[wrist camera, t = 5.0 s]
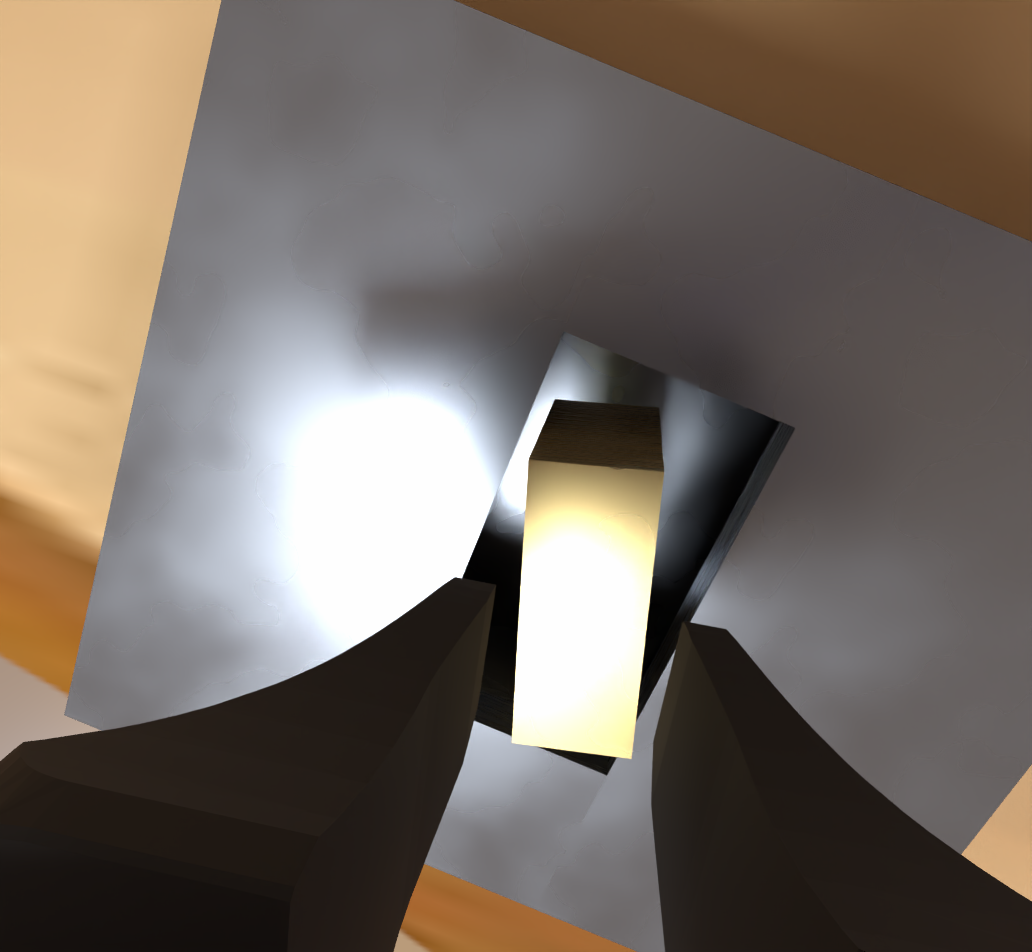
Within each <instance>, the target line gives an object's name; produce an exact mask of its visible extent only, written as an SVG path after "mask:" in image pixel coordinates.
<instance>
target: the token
mask: <svg viewBox="0 0 1032 952" xmlns="http://www.w3.org/2000/svg"><path fill="white" fill-rule="evenodd" d="M663 479H664V463H663V451H662V439H661V427H660V414H659V408H657V407H645V406H633V405H621V404H609V403H597V402H585V401H573V400H561V399H555V400H554V402H553V404H552V407H551V409H550V411H549V414H548V416H547V418H546V420H545V423H544V425H543V427H542V429H541V432H540V434H539V436H538V439H537V441H536V443H535V445H534V448H533V450H532V452H531V454H530V457H529V459H528V472H527V489H526V507H525V524H524V541H523V558H522V575H521V592H520V609H519V627H518V644H517V661H516V678H515V695H514V712H513V729H512V743H516V744H524V745H531V746H538V747H546V748H553V749H561V750H568V751H576V752H583V753H591V754H598V755H606V756H613V757H621V758H628V759H631V758H632V749H633V741H634V732H635V723H636V714H637V706H638V697H639V688H640V680H641V671H642V662H643V653H644V645H645V636H646V627H647V619H648V610H649V601H650V592H651V584H652V575H653V566H654V557H655V549H656V540H657V531H658V523H659V514H660V505H661V496H662V488H663Z"/></svg>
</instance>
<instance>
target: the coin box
mask: <svg viewBox="0 0 1032 952" xmlns="http://www.w3.org/2000/svg"><path fill="white" fill-rule="evenodd" d="M555 399H561V400H573V401H585V402H597V403H609V404H621V405H633V406H645V407H657V408H659V414H660V427H661V439H662V451H663V463H664V479H663V488H662V496H661V505H660V514H659V523H658V531H657V540H656V549H655V557H654V566H653V575H652V584H651V592H650V601H649V610H648V619H647V627H646V636H645V645H644V653H643V662H642V671H641V680H640V688H639V697H638V706H637V714H636V723H635V732H634V741H633V749H632V758H631V759H628V758H621V757H613V756H606V755H598V754H591V753H583V752H576V751H568V750H561V749H553V748H546V747H538V746H531V745H524V744H516V743H512V729H513V712H514V695H515V678H516V661H517V644H518V627H519V609H520V592H521V575H522V558H523V541H524V524H525V507H526V489H527V472H528V459H529V457H530V454H531V452H532V450H533V448H534V445H535V443H536V441H537V439H538V436H539V434H540V432H541V429H542V427H543V425H544V423H545V420H546V418H547V416H548V414H549V411H550V409H551V407H552V404H553V402H554V400H555ZM454 577H458V578H463V579H469V580H474V581H479V582H484V583H489V584H495V585H496V591H495V597H494V604H493V610H492V617H491V623H490V630H489V636H488V643H487V650H486V656H485V663H484V669H483V676H482V682H481V689H480V695H479V702H478V707H477V711H476V715H475V719H474V723H473V727H472V731H471V735H470V739H469V743H468V746H467V750H466V754H465V758H464V762H463V765H462V768H461V770H460V773H459V776H458V778H457V781H456V783H455V786H454V789H453V791H452V794H451V796H450V799H449V802H448V804H447V807H446V809H445V812H444V814H443V817H442V819H441V822H440V825H439V827H438V830H437V832H436V835H435V837H434V840H433V842H432V845H431V847H430V850H429V852H428V855H427V858H426V860H425V863H424V864H426V865H429V866H431V867H434V868H436V869H439V870H441V871H443V872H446V873H448V874H451V875H453V876H456V877H458V878H460V879H463V880H465V881H468V882H470V883H472V884H475V885H477V886H480V887H482V888H485V889H487V890H489V891H492V892H494V893H497V894H499V895H502V896H504V897H506V898H509V899H511V900H514V901H516V902H519V903H521V904H523V905H526V906H528V907H531V908H533V909H536V910H538V911H540V912H543V913H545V914H548V915H550V916H552V917H555V918H557V919H560V920H562V921H565V922H567V923H569V924H572V925H574V926H577V927H579V928H582V929H584V930H586V931H589V932H591V933H594V934H596V935H599V936H601V937H603V938H606V939H608V940H611V941H613V942H615V943H618V944H620V945H623V946H625V947H628V948H630V949H632V950H635V951H637V952H665V946H664V936H663V925H662V915H661V905H660V895H659V884H658V874H657V864H656V854H655V843H654V832H653V821H652V809H651V789H652V760H653V740H654V736H655V732H656V728H657V724H658V720H659V716H660V712H661V707H662V703H663V699H664V695H665V691H666V687H667V683H668V679H669V675H670V671H671V667H672V662H673V658H674V654H675V650H676V646H677V642H678V638H679V634H680V630H681V626H682V622H683V621H687V622H692V623H697V624H702V625H707V626H713V627H718V628H723V629H727V630H728V631H729V632H730V633H731V635H732V636H733V637H734V638H735V639H736V640H737V641H738V643H739V644H740V645H741V646H742V647H743V649H744V650H745V651H746V652H747V654H748V655H749V656H750V657H751V658H752V660H753V661H754V662H755V663H756V664H757V666H758V667H759V668H760V669H761V670H762V672H763V673H764V674H765V675H766V677H767V678H768V679H769V680H770V681H771V682H772V684H773V685H774V686H775V687H776V688H777V689H778V691H779V692H780V693H781V694H782V695H783V696H784V698H785V699H786V700H787V701H788V702H789V703H790V704H791V705H792V707H793V708H794V709H795V710H796V711H797V712H798V713H799V714H800V715H801V716H802V718H803V719H804V720H805V721H806V722H807V723H808V724H809V725H810V726H811V727H812V728H813V729H814V730H815V731H816V732H817V733H818V734H819V735H820V736H821V737H822V738H823V739H824V740H825V741H826V742H827V743H828V744H829V745H830V746H831V747H832V748H833V749H834V750H835V751H836V752H837V753H838V754H839V755H840V756H841V757H842V758H843V759H844V760H845V761H846V762H847V763H848V764H849V765H850V766H851V767H852V768H853V769H854V770H855V771H857V772H858V773H859V774H860V775H861V776H862V777H863V778H864V779H865V780H867V781H868V782H869V783H870V784H871V785H872V786H874V787H875V788H876V789H877V790H878V791H879V792H881V793H882V794H883V795H884V796H885V797H887V798H888V799H889V800H890V801H891V802H892V803H894V804H895V805H896V806H897V807H898V808H900V809H901V810H902V811H903V812H904V813H906V814H907V815H908V816H909V817H911V818H912V819H913V820H915V821H916V822H917V823H918V824H920V825H921V826H922V827H924V828H925V829H926V830H928V831H929V832H930V833H932V834H933V835H934V836H936V837H937V838H939V839H940V840H941V841H943V842H944V843H945V844H947V845H948V846H950V847H951V848H952V849H954V850H955V851H957V852H958V853H959V854H962V853H963V851H964V850H965V849H966V848H967V846H968V845H969V844H970V842H971V841H972V840H973V839H974V837H975V836H976V835H977V834H978V832H979V831H980V830H981V828H982V827H983V826H984V825H985V823H986V822H987V821H988V819H989V818H990V817H991V816H992V814H993V813H994V812H995V811H996V809H997V808H998V807H999V805H1000V804H1001V803H1002V802H1003V800H1004V799H1005V798H1006V796H1007V795H1008V794H1009V793H1010V791H1011V790H1012V789H1013V788H1014V786H1015V785H1016V784H1017V782H1018V781H1019V780H1020V779H1021V777H1022V776H1023V775H1024V774H1025V772H1026V771H1027V770H1028V768H1029V767H1030V766H1031V765H1032V242H1031V241H1029V240H1027V239H1024V238H1022V237H1019V236H1017V235H1015V234H1012V233H1010V232H1007V231H1005V230H1003V229H1000V228H998V227H995V226H993V225H991V224H988V223H986V222H983V221H981V220H979V219H976V218H974V217H971V216H969V215H967V214H964V213H962V212H959V211H957V210H955V209H952V208H950V207H948V206H945V205H943V204H940V203H938V202H936V201H933V200H931V199H928V198H926V197H924V196H921V195H919V194H916V193H914V192H912V191H909V190H907V189H904V188H902V187H900V186H897V185H895V184H892V183H890V182H888V181H885V180H883V179H880V178H878V177H876V176H873V175H871V174H869V173H866V172H864V171H861V170H859V169H857V168H854V167H852V166H849V165H847V164H845V163H842V162H840V161H837V160H835V159H833V158H830V157H828V156H825V155H823V154H821V153H818V152H816V151H813V150H811V149H809V148H806V147H804V146H802V145H799V144H797V143H794V142H792V141H790V140H787V139H785V138H782V137H780V136H778V135H775V134H773V133H770V132H768V131H766V130H763V129H761V128H758V127H756V126H754V125H751V124H749V123H746V122H744V121H742V120H739V119H737V118H734V117H732V116H730V115H727V114H725V113H723V112H720V111H718V110H715V109H713V108H711V107H708V106H706V105H703V104H701V103H699V102H696V101H694V100H691V99H689V98H687V97H684V96H682V95H679V94H677V93H675V92H672V91H670V90H667V89H665V88H663V87H660V86H658V85H655V84H653V83H651V82H648V81H646V80H644V79H641V78H639V77H636V76H634V75H632V74H629V73H627V72H624V71H622V70H620V69H617V68H615V67H612V66H610V65H608V64H605V63H603V62H600V61H598V60H596V59H593V58H591V57H588V56H586V55H584V54H581V53H579V52H576V51H574V50H572V49H569V48H567V47H565V46H562V45H560V44H557V43H555V42H553V41H550V40H548V39H545V38H543V37H541V36H538V35H536V34H533V33H531V32H529V31H526V30H524V29H521V28H519V27H517V26H514V25H512V24H509V23H507V22H505V21H502V20H500V19H497V18H495V17H493V16H490V15H488V14H486V13H483V12H481V11H478V10H476V9H474V8H471V7H469V6H466V5H464V4H462V3H459V2H457V1H454V0H221V5H220V9H219V14H218V18H217V23H216V28H215V32H214V37H213V41H212V46H211V50H210V55H209V59H208V64H207V69H206V73H205V78H204V82H203V87H202V91H201V96H200V100H199V105H198V109H197V114H196V119H195V123H194V128H193V132H192V137H191V141H190V146H189V150H188V155H187V159H186V164H185V169H184V173H183V178H182V182H181V187H180V191H179V196H178V200H177V205H176V209H175V214H174V219H173V223H172V228H171V232H170V237H169V241H168V246H167V250H166V255H165V260H164V264H163V269H162V273H161V278H160V282H159V287H158V291H157V296H156V300H155V305H154V310H153V314H152V319H151V323H150V328H149V332H148V337H147V341H146V346H145V350H144V355H143V360H142V364H141V369H140V373H139V378H138V382H137V387H136V391H135V396H134V400H133V405H132V410H131V414H130V419H129V423H128V428H127V432H126V437H125V441H124V446H123V450H122V455H121V460H120V464H119V469H118V473H117V478H116V482H115V487H114V491H113V496H112V501H111V505H110V510H109V514H108V519H107V523H106V528H105V532H104V537H103V541H102V546H101V551H100V555H99V560H98V564H97V569H96V573H95V578H94V582H93V587H92V591H91V596H90V601H89V605H88V610H87V614H86V619H85V623H84V628H83V632H82V637H81V641H80V646H79V651H78V655H77V660H76V664H75V669H74V673H73V678H72V682H71V687H70V692H69V696H68V701H67V706H66V710H65V714H64V715H65V716H68V717H70V718H73V719H75V720H77V721H80V722H82V723H85V724H87V725H90V726H92V727H95V728H97V729H99V730H102V731H103V730H109V729H116V728H121V727H126V726H131V725H136V724H141V723H145V722H150V721H154V720H158V719H163V718H167V717H171V716H176V715H179V714H183V713H187V712H191V711H194V710H198V709H202V708H206V707H209V706H212V705H216V704H219V703H222V702H225V701H228V700H230V699H233V698H236V697H239V696H242V695H245V694H248V693H251V692H254V691H257V690H259V689H262V688H265V687H268V686H271V685H274V684H276V683H279V682H281V681H284V680H286V679H289V678H291V677H293V676H295V675H298V674H300V673H302V672H304V671H307V670H309V669H311V668H313V667H316V666H318V665H320V664H322V663H324V662H326V661H328V660H330V659H332V658H334V657H336V656H338V655H339V654H341V653H343V652H345V651H347V650H348V649H350V648H352V647H353V646H355V645H357V644H358V643H360V642H362V641H363V640H365V639H367V638H368V637H370V636H372V635H373V634H375V633H376V632H378V631H380V630H381V629H382V628H384V627H385V626H387V625H388V624H390V623H391V622H393V621H394V620H396V619H397V618H399V617H400V616H401V615H403V614H404V613H406V612H407V611H409V610H410V609H411V608H413V607H414V606H415V605H417V604H418V603H420V602H421V601H422V600H424V599H425V598H426V597H428V596H429V595H430V594H431V593H433V592H434V591H435V590H437V589H438V588H439V587H441V586H442V585H443V584H445V583H446V582H448V581H449V580H451V579H452V578H454Z"/></svg>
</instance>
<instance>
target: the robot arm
mask: <svg viewBox="0 0 1032 952" xmlns="http://www.w3.org/2000/svg"><path fill="white" fill-rule="evenodd" d="M495 591H496V585H495V584H489V583H484V582H479V581H474V580H469V579H463V578H458V577H454V578H452V579H451V580H449V581H448V582H446V583H445V584H443V585H442V586H441V587H439V588H438V589H437V590H435V591H434V592H433V593H431V594H430V595H429V596H428V597H426V598H425V599H424V600H422V601H421V602H420V603H418V604H417V605H415V606H414V607H413V608H411V609H410V610H409V611H407V612H406V613H404V614H403V615H401V616H400V617H399V618H397V619H396V620H394V621H393V622H391V623H390V624H388V625H387V626H385V627H384V628H382V629H381V630H380V631H378V632H376V633H375V634H373V635H372V636H370V637H368V638H367V639H365V640H363V641H362V642H360V643H358V644H357V645H355V646H353V647H352V648H350V649H348V650H347V651H345V652H343V653H341V654H339V655H338V656H336V657H334V658H332V659H330V660H328V661H326V662H324V663H322V664H320V665H318V666H316V667H313V668H311V669H309V670H307V671H304V672H302V673H300V674H298V675H295V676H293V677H291V678H289V679H286V680H284V681H281V682H279V683H276V684H274V685H271V686H268V687H265V688H262V689H259V690H257V691H254V692H251V693H248V694H245V695H242V696H239V697H236V698H233V699H230V700H228V701H225V702H222V703H219V704H216V705H212V706H209V707H206V708H202V709H198V710H194V711H191V712H187V713H183V714H179V715H176V716H171V717H167V718H163V719H158V720H154V721H150V722H145V723H141V724H136V725H131V726H126V727H121V728H116V729H109V730H103V731H97V732H90V733H84V734H77V735H71V736H64V737H58V738H51V739H45V740H37V741H28V742H23V743H22V744H21V745H19V746H18V747H17V748H16V749H14V750H13V751H12V752H11V753H9V754H8V755H7V756H6V757H5V758H4V759H2V760H1V761H0V952H393V951H394V948H395V944H396V941H397V937H398V934H399V930H400V927H401V924H402V922H403V919H404V916H405V913H406V910H407V907H408V904H409V901H410V898H411V896H412V893H413V891H414V888H415V886H416V883H417V880H418V878H419V875H420V873H421V870H422V868H423V865H424V863H425V860H426V858H427V855H428V852H429V850H430V847H431V845H432V842H433V840H434V837H435V835H436V832H437V830H438V827H439V825H440V822H441V819H442V817H443V814H444V812H445V809H446V807H447V804H448V802H449V799H450V796H451V794H452V791H453V789H454V786H455V783H456V781H457V778H458V776H459V773H460V770H461V768H462V765H463V762H464V758H465V754H466V750H467V746H468V743H469V739H470V735H471V731H472V727H473V723H474V719H475V715H476V711H477V707H478V702H479V695H480V689H481V682H482V676H483V669H484V663H485V656H486V650H487V643H488V636H489V630H490V623H491V617H492V610H493V604H494V597H495ZM651 809H652V821H653V832H654V843H655V854H656V864H657V874H658V884H659V895H660V905H661V915H662V925H663V936H664V946H665V952H1032V901H1030V900H1028V899H1027V898H1025V897H1024V896H1022V895H1020V894H1019V893H1017V892H1015V891H1014V890H1012V889H1011V888H1009V887H1008V886H1006V885H1005V884H1003V883H1002V882H1000V881H999V880H997V879H996V878H994V877H993V876H991V875H990V874H988V873H987V872H985V871H983V870H982V869H981V868H979V867H978V866H976V865H975V864H973V863H972V862H971V861H969V860H968V859H966V858H965V857H964V856H962V855H961V854H959V853H958V852H957V851H955V850H954V849H952V848H951V847H950V846H948V845H947V844H945V843H944V842H943V841H941V840H940V839H939V838H937V837H936V836H934V835H933V834H932V833H930V832H929V831H928V830H926V829H925V828H924V827H922V826H921V825H920V824H918V823H917V822H916V821H915V820H913V819H912V818H911V817H909V816H908V815H907V814H906V813H904V812H903V811H902V810H901V809H900V808H898V807H897V806H896V805H895V804H894V803H892V802H891V801H890V800H889V799H888V798H887V797H885V796H884V795H883V794H882V793H881V792H879V791H878V790H877V789H876V788H875V787H874V786H872V785H871V784H870V783H869V782H868V781H867V780H865V779H864V778H863V777H862V776H861V775H860V774H859V773H858V772H857V771H855V770H854V769H853V768H852V767H851V766H850V765H849V764H848V763H847V762H846V761H845V760H844V759H843V758H842V757H841V756H840V755H839V754H838V753H837V752H836V751H835V750H834V749H833V748H832V747H831V746H830V745H829V744H828V743H827V742H826V741H825V740H824V739H823V738H822V737H821V736H820V735H819V734H818V733H817V732H816V731H815V730H814V729H813V728H812V727H811V726H810V725H809V724H808V723H807V722H806V721H805V720H804V719H803V718H802V716H801V715H800V714H799V713H798V712H797V711H796V710H795V709H794V708H793V707H792V705H791V704H790V703H789V702H788V701H787V700H786V699H785V698H784V696H783V695H782V694H781V693H780V692H779V691H778V689H777V688H776V687H775V686H774V685H773V684H772V682H771V681H770V680H769V679H768V678H767V677H766V675H765V674H764V673H763V672H762V670H761V669H760V668H759V667H758V666H757V664H756V663H755V662H754V661H753V660H752V658H751V657H750V656H749V655H748V654H747V652H746V651H745V650H744V649H743V647H742V646H741V645H740V644H739V643H738V641H737V640H736V639H735V638H734V637H733V636H732V635H731V633H730V632H729V631H728V630H727V629H723V628H718V627H713V626H707V625H702V624H697V623H692V622H687V621H683V622H682V626H681V630H680V634H679V638H678V642H677V646H676V650H675V654H674V658H673V662H672V667H671V671H670V675H669V679H668V683H667V687H666V691H665V695H664V699H663V703H662V707H661V712H660V716H659V720H658V724H657V728H656V732H655V736H654V740H653V760H652V789H651Z"/></svg>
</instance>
